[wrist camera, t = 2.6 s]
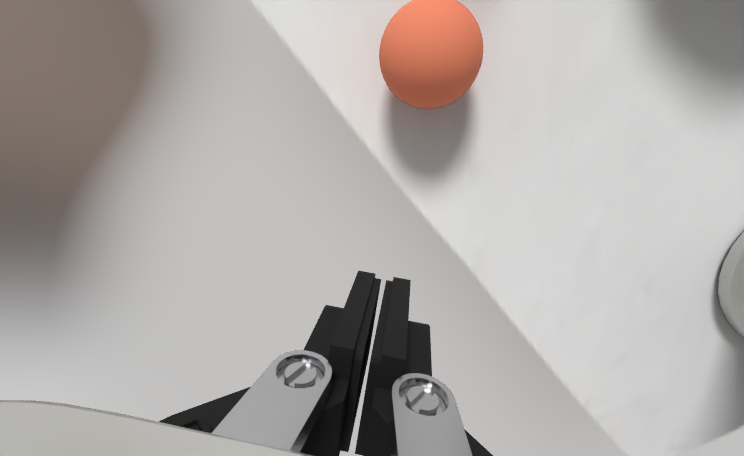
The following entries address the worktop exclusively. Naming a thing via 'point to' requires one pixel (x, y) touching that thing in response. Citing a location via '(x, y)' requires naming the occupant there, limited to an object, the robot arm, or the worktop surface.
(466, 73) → the ball
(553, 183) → the worktop surface
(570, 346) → the worktop surface
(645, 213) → the worktop surface
